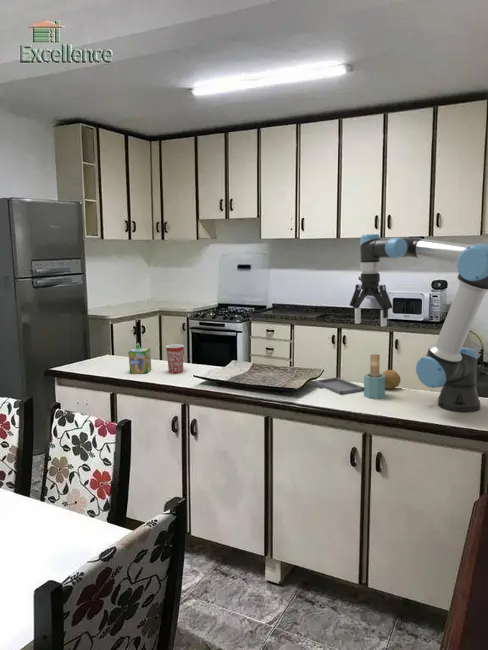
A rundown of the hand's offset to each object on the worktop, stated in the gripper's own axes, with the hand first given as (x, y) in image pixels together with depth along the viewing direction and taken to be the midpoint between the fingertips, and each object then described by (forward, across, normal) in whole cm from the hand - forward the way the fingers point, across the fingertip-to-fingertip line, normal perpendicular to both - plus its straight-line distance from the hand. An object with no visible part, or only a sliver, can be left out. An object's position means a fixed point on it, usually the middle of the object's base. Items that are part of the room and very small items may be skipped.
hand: (370, 324), depth 216 cm
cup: (+30, -4, +3) cm, 30 cm away
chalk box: (+27, +104, +56) cm, 121 cm away
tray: (+29, +14, +4) cm, 33 cm away
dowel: (+29, -4, +3) cm, 29 cm away
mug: (+28, +92, +41) cm, 104 cm away
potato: (+30, +1, -12) cm, 32 cm away
